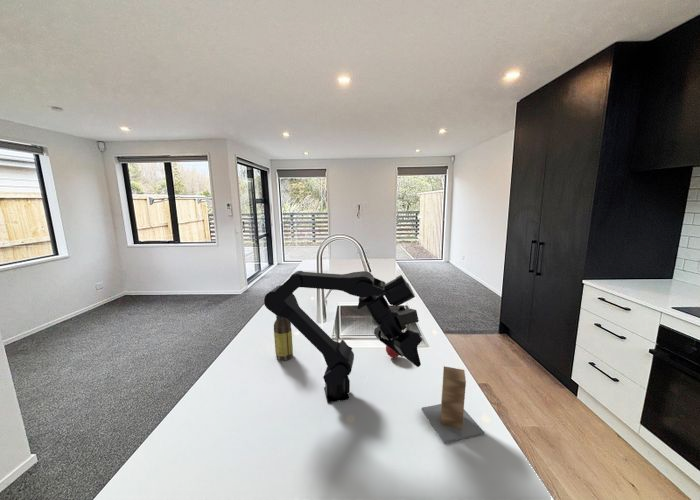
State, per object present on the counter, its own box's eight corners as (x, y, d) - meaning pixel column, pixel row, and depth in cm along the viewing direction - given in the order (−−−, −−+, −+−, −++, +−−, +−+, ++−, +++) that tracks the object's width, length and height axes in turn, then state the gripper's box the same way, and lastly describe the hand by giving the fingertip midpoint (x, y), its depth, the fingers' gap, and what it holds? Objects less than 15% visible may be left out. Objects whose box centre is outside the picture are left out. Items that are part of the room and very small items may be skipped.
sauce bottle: (288, 350, 104) (286, 301, 100) (296, 357, 99) (294, 305, 96) (272, 356, 100) (269, 305, 96) (279, 364, 95) (277, 310, 92)
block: (440, 424, 68) (443, 377, 66) (440, 410, 73) (443, 366, 71) (462, 429, 67) (465, 381, 65) (460, 414, 71) (464, 369, 69)
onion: (401, 363, 96) (402, 342, 94) (385, 361, 97) (385, 340, 95) (401, 354, 101) (402, 334, 100) (386, 352, 102) (386, 333, 101)
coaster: (444, 443, 63) (444, 441, 63) (421, 409, 74) (421, 407, 74) (484, 434, 66) (484, 432, 66) (456, 402, 77) (456, 400, 76)
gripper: (421, 300, 67) (452, 351, 68) (390, 294, 85) (415, 335, 86) (387, 326, 64) (419, 380, 65) (362, 315, 82) (388, 357, 83)
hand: (410, 360), depth 75 cm, fingers open, 9 cm apart
